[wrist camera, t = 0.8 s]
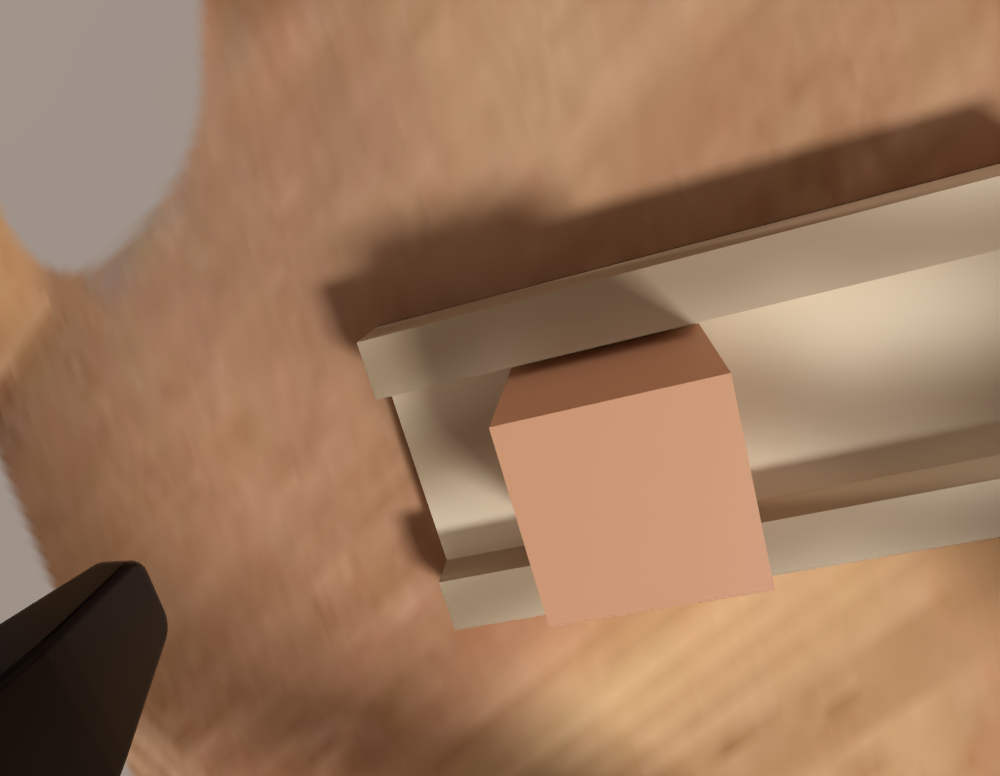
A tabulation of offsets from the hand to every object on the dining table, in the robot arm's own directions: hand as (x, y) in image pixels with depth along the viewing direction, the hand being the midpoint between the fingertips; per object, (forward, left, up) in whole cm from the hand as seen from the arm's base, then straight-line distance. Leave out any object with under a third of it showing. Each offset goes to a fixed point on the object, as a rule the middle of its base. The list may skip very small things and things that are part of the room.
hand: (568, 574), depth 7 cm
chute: (-3, -3, -13) cm, 14 cm away
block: (-3, 0, -12) cm, 13 cm away
